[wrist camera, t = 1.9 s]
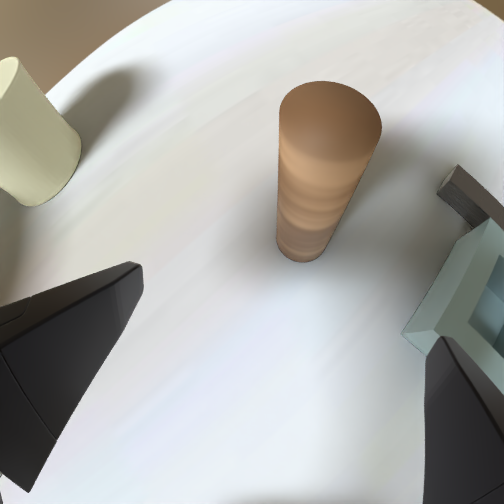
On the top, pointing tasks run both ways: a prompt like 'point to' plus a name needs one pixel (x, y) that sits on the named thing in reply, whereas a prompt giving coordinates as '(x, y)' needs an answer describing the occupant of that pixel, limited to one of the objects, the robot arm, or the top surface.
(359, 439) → the top surface
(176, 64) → the top surface
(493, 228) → the socket block
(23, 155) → the can
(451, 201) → the backstop bar
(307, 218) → the dowel
